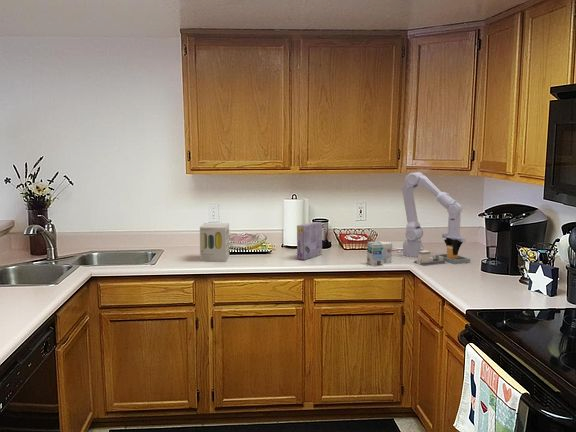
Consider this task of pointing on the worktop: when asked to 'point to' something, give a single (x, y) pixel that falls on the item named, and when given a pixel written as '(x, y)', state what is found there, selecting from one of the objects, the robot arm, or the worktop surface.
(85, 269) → the worktop surface
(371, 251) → the light bulb box
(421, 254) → the cream rectangular block
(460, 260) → the slate tray
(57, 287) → the worktop surface
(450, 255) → the block
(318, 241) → the cake pan box
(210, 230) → the supplement box
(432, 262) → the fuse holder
